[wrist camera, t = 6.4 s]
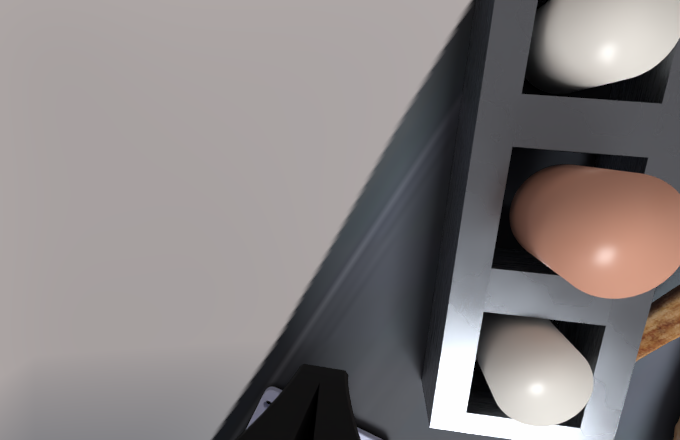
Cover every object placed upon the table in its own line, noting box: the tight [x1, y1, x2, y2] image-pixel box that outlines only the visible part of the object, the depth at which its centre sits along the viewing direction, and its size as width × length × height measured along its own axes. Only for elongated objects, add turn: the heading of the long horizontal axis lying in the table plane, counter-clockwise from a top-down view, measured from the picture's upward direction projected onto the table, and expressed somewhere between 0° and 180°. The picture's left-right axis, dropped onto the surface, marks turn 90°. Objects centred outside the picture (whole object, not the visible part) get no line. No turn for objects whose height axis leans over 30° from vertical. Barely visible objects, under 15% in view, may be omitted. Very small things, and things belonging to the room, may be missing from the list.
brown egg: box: [509, 164, 680, 299], centre depth 14 cm, size 4×4×4 cm
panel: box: [422, 0, 680, 440], centre depth 17 cm, size 21×8×4 cm, turn 175°
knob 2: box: [525, 0, 680, 94], centre depth 15 cm, size 4×4×4 cm
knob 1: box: [476, 312, 593, 427], centre depth 18 cm, size 4×4×4 cm
